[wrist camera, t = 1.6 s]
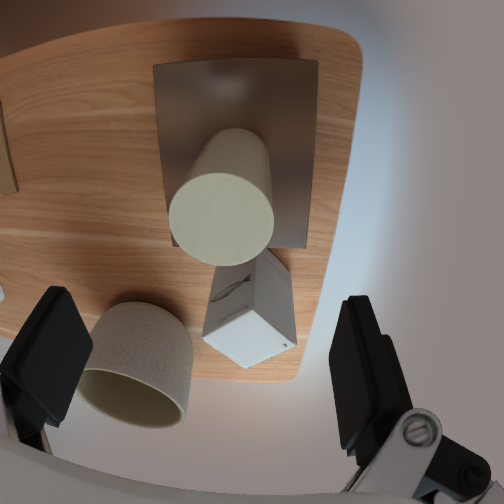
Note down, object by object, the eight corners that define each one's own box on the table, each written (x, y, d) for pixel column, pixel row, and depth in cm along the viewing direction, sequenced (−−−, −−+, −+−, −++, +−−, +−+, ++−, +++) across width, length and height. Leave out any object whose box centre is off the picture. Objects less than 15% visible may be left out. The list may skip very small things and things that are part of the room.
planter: (204, 297, 45) (186, 386, 32) (197, 363, 54) (185, 437, 42) (96, 276, 44) (54, 352, 31) (110, 345, 53) (85, 412, 40)
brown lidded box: (183, 63, 27) (152, 65, 19) (301, 61, 27) (318, 60, 19) (193, 200, 36) (172, 247, 28) (295, 200, 36) (306, 248, 28)
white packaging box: (256, 235, 39) (254, 308, 28) (292, 273, 42) (299, 347, 31) (213, 265, 42) (198, 339, 31) (249, 298, 45) (245, 371, 34)
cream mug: (200, 129, 22) (161, 174, 14) (270, 128, 22) (275, 172, 14) (206, 211, 26) (180, 291, 18) (268, 212, 26) (271, 293, 18)
